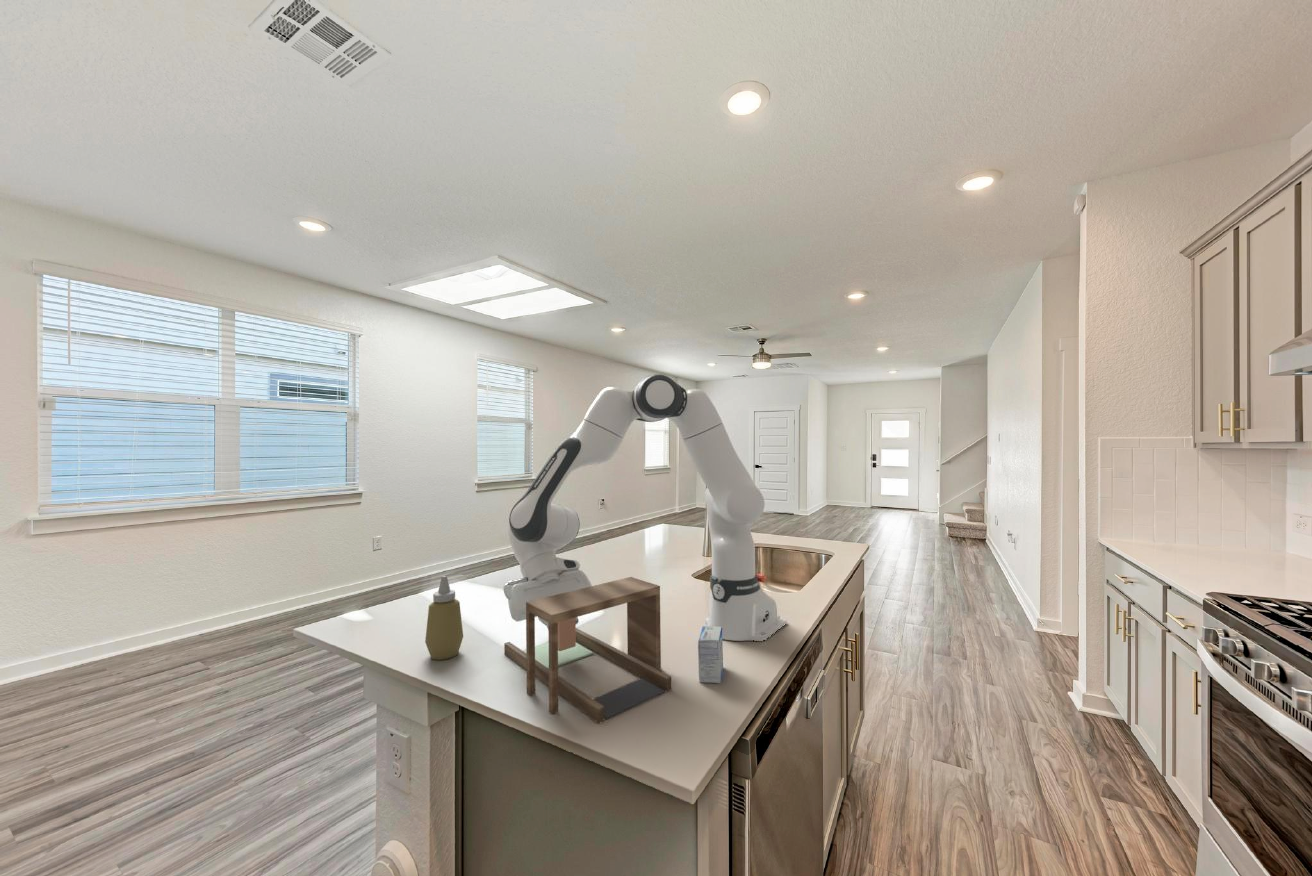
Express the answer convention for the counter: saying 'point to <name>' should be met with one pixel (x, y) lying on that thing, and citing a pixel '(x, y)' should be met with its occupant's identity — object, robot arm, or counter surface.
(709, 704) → the counter surface
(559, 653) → the pad
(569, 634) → the terracotta block
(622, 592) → the walnut tunnel
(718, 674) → the medicine box
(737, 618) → the robot arm
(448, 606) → the squeeze bottle
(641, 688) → the pad
